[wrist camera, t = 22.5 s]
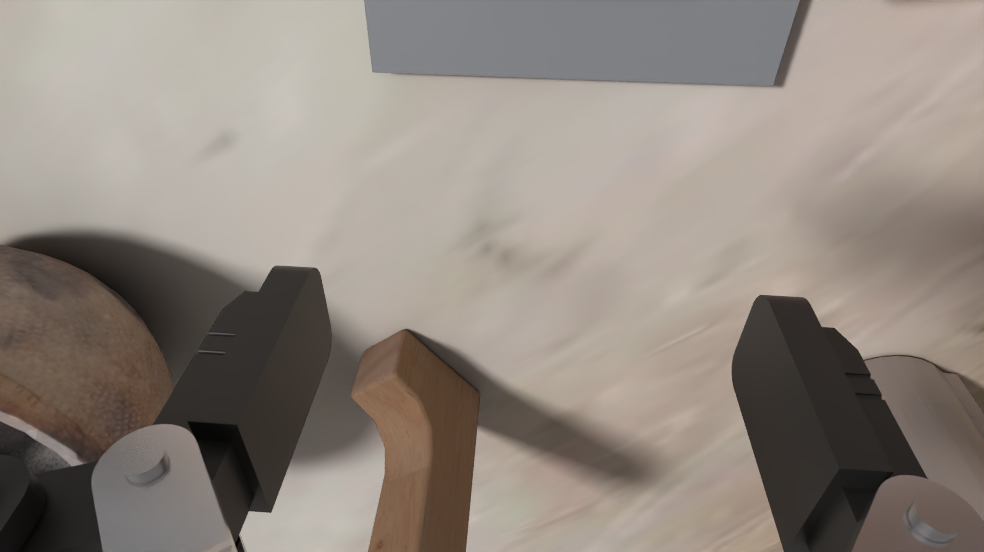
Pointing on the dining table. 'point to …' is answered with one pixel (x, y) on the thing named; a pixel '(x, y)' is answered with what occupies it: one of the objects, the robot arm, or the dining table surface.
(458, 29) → the letter board
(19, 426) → the ceramic bowl
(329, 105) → the dining table surface
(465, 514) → the wooden block
